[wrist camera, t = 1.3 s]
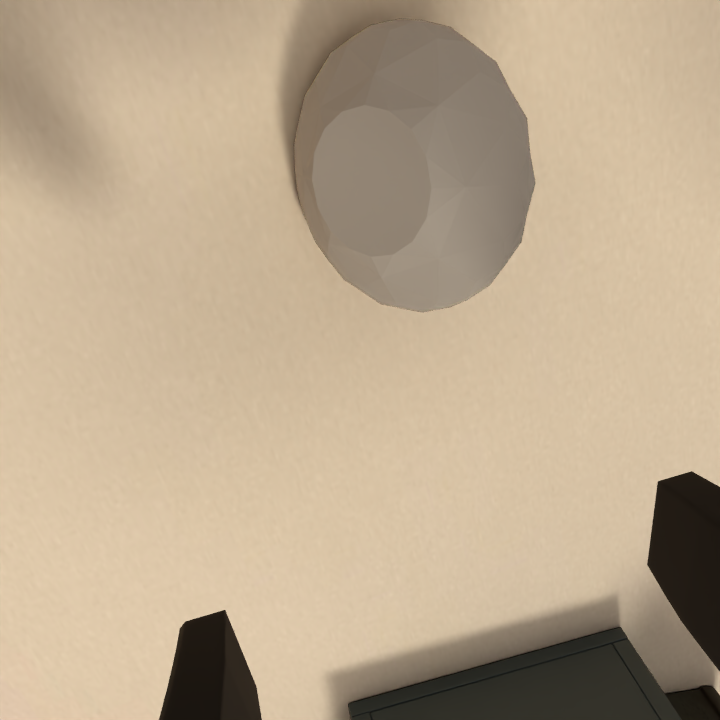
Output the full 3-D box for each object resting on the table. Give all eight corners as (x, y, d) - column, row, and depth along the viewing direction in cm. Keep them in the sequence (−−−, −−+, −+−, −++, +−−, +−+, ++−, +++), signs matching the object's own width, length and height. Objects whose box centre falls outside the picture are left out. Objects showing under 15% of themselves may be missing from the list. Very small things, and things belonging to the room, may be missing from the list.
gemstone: (591, 286, 17) (499, 352, 13) (389, 258, 20) (273, 303, 17) (615, 11, 15) (512, -1, 11) (382, 33, 18) (246, 29, 14)
